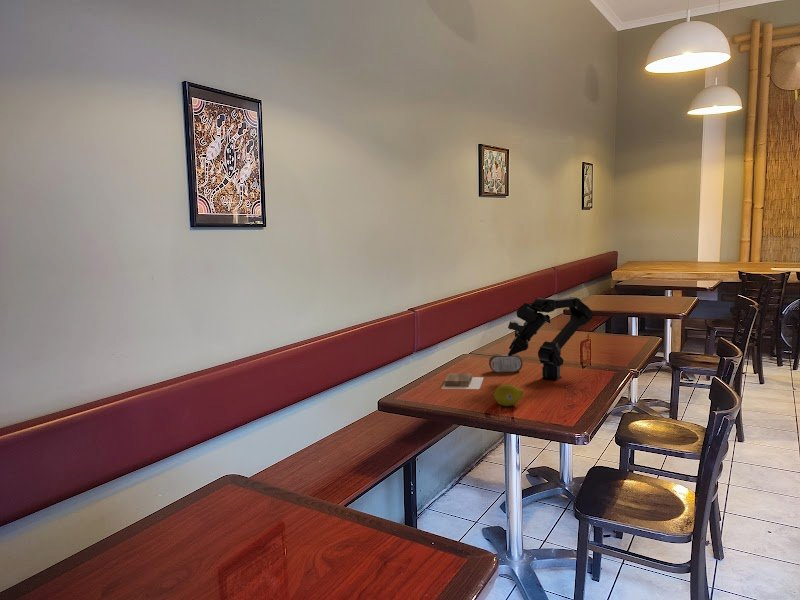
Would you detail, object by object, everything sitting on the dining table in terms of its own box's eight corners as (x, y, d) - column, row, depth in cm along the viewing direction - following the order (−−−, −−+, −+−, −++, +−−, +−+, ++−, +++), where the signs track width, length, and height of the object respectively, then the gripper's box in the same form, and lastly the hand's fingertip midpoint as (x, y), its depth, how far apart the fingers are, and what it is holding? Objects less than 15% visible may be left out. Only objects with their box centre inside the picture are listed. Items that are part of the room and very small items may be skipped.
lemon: (492, 408, 212) (491, 387, 211) (495, 401, 219) (494, 381, 218) (522, 409, 209) (521, 388, 208) (524, 403, 216) (523, 382, 215)
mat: (483, 378, 253) (483, 377, 253) (479, 389, 236) (479, 389, 236) (447, 377, 257) (447, 376, 257) (440, 389, 240) (440, 388, 240)
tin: (522, 370, 262) (522, 352, 261) (523, 372, 259) (522, 354, 258) (489, 371, 264) (488, 353, 263) (489, 373, 260) (488, 355, 259)
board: (471, 373, 251) (449, 373, 254) (468, 381, 240) (444, 380, 242) (472, 379, 252) (449, 378, 254) (468, 386, 240) (444, 386, 243)
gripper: (519, 307, 250) (496, 333, 255) (517, 318, 233) (492, 346, 238) (539, 324, 250) (515, 349, 255) (538, 336, 232) (513, 363, 237)
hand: (509, 352), depth 246 cm, fingers open, 9 cm apart
